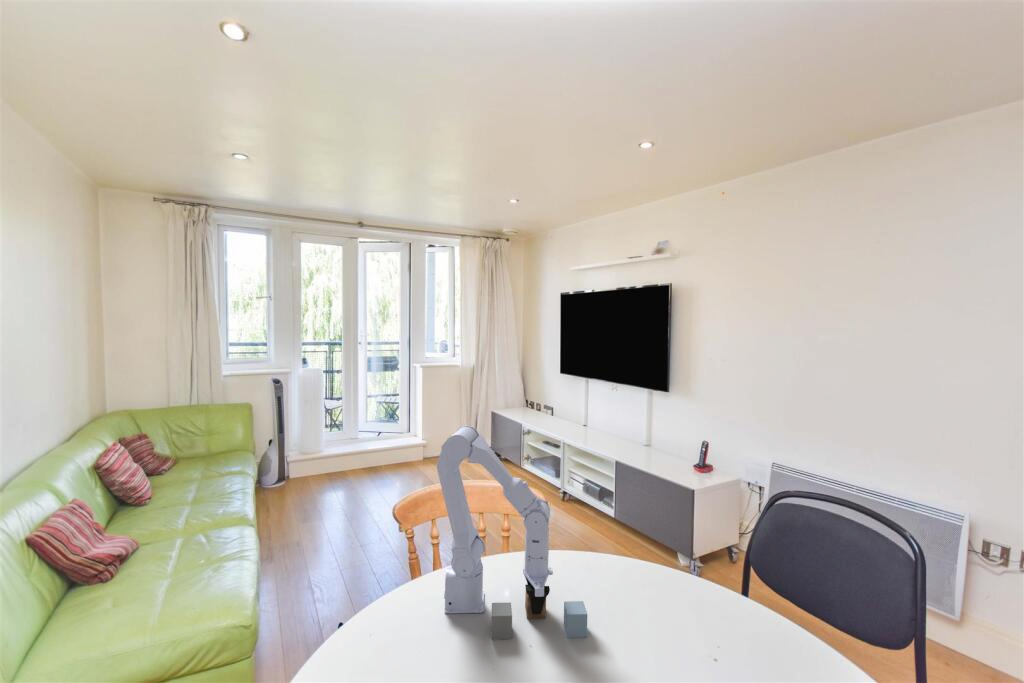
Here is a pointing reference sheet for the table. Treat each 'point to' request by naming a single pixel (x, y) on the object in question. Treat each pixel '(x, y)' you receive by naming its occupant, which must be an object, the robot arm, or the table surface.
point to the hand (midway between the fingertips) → (535, 606)
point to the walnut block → (529, 611)
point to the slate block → (575, 619)
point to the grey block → (501, 621)
